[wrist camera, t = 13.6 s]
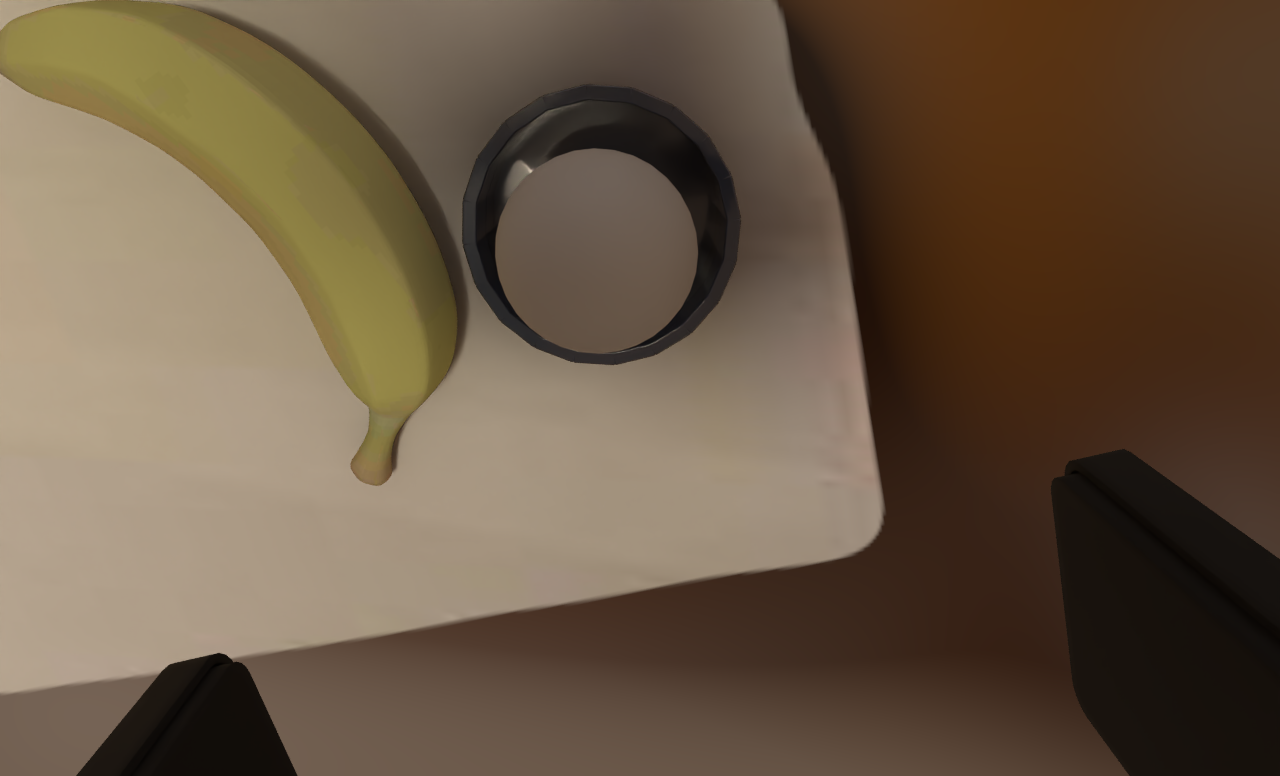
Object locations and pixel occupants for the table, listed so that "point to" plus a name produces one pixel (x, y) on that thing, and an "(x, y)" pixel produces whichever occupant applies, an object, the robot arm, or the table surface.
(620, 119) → the dark grey round bowl
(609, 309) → the lightbulb
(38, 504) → the table surface
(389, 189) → the banana
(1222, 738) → the robot arm
